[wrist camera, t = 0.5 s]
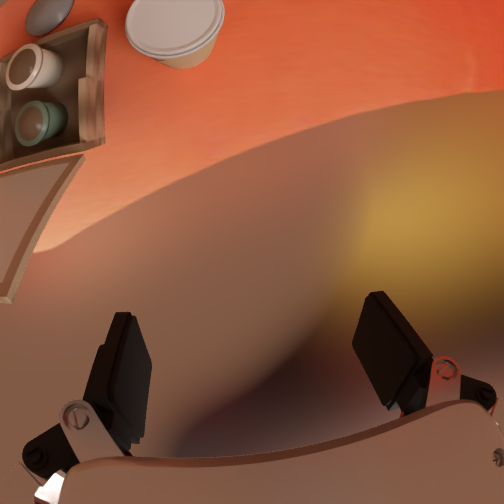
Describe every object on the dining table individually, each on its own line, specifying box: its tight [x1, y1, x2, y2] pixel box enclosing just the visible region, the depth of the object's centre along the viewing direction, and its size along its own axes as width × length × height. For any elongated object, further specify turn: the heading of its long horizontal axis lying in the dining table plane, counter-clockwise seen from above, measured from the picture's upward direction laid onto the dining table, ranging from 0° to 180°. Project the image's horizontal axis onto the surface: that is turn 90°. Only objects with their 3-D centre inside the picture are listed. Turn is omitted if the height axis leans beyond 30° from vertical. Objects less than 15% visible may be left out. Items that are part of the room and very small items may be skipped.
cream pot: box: [6, 44, 65, 90], centre depth 20 cm, size 6×6×7 cm
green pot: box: [15, 101, 68, 146], centre depth 25 cm, size 6×6×6 cm
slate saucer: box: [25, 0, 74, 37], centre depth 18 cm, size 9×9×1 cm
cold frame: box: [0, 18, 108, 171], centre depth 23 cm, size 18×18×7 cm
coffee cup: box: [125, 0, 224, 69], centre depth 22 cm, size 9×9×12 cm
